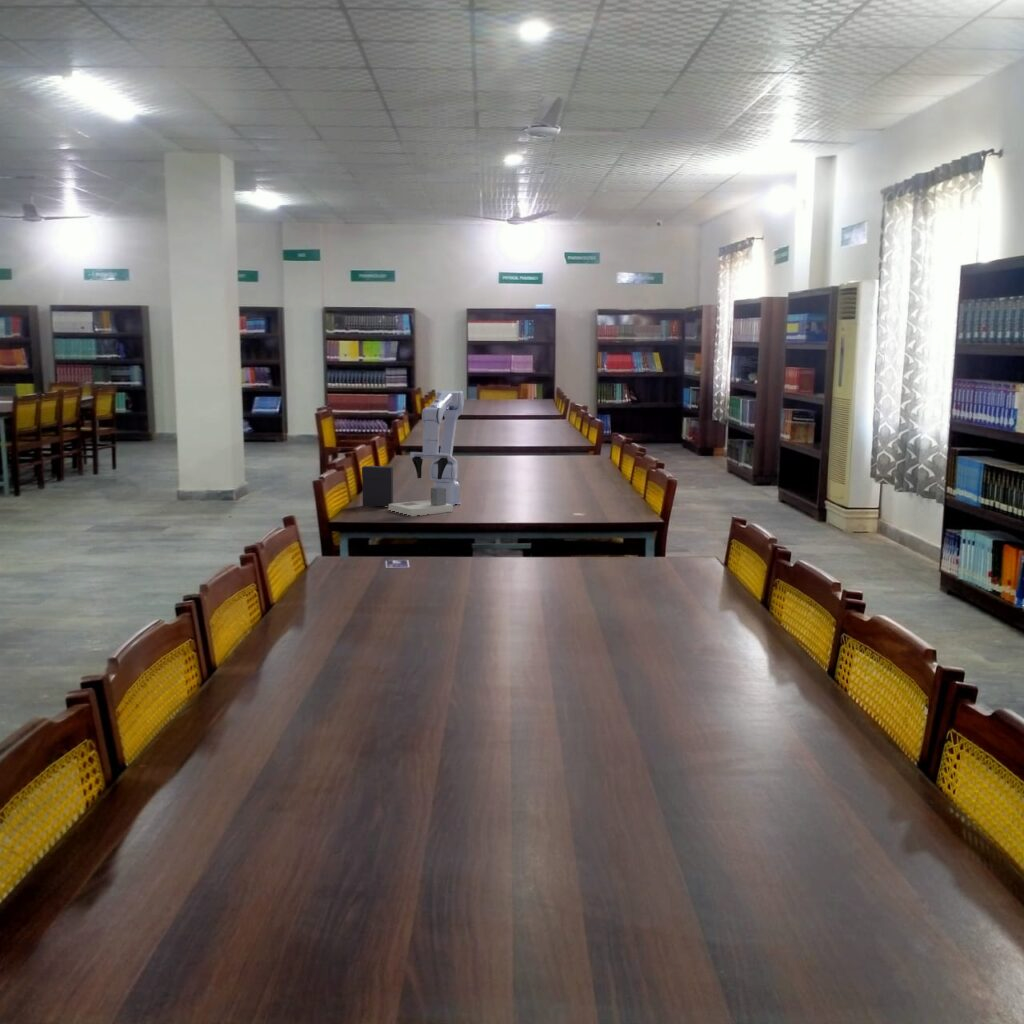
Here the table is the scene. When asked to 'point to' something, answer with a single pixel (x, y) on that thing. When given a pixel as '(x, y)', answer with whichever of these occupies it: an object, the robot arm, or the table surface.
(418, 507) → the slot board
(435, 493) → the pin
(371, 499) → the dark grey rectangular block
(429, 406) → the robot arm
